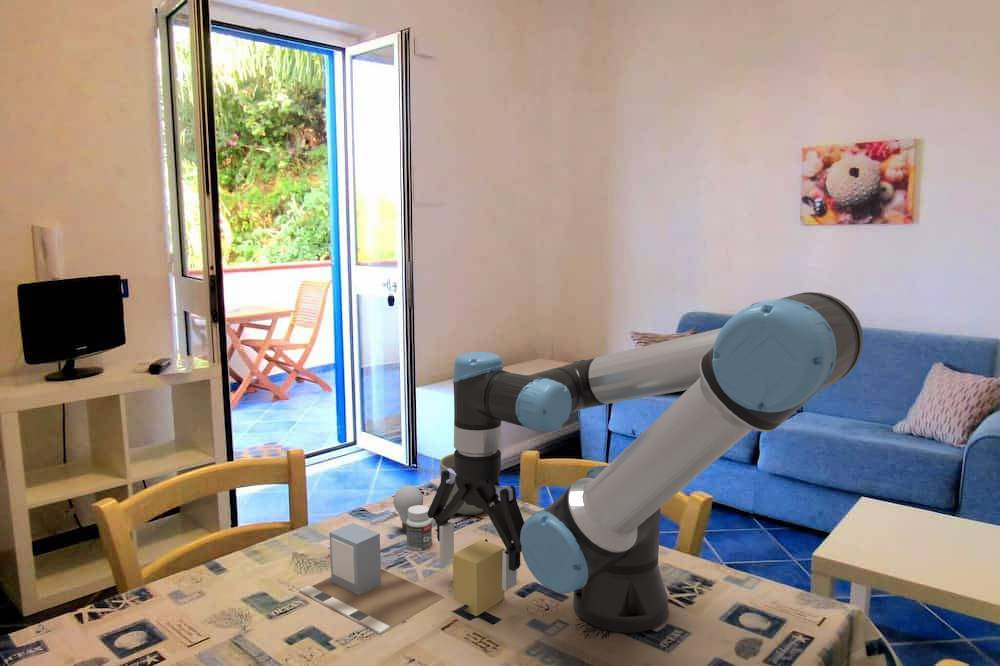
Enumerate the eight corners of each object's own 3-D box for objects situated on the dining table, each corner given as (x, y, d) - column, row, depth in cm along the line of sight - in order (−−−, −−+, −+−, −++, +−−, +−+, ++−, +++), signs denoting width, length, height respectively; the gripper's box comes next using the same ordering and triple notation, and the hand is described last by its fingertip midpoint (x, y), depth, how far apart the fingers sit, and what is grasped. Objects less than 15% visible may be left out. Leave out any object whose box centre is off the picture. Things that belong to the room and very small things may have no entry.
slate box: (354, 571, 130) (352, 522, 128) (381, 583, 125) (379, 533, 124) (330, 582, 126) (328, 532, 124) (357, 595, 121) (355, 544, 120)
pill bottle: (427, 557, 137) (427, 515, 136) (403, 555, 138) (402, 513, 137) (435, 546, 142) (434, 505, 140) (411, 544, 143) (410, 503, 141)
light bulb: (392, 529, 149) (390, 482, 148) (420, 526, 151) (419, 479, 149) (397, 542, 144) (395, 493, 142) (426, 538, 146) (425, 489, 144)
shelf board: (444, 603, 121) (444, 594, 121) (380, 642, 110) (380, 631, 110) (364, 567, 133) (364, 558, 133) (299, 598, 123) (299, 589, 123)
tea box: (504, 598, 123) (504, 547, 121) (476, 616, 117) (476, 563, 116) (480, 588, 126) (480, 539, 124) (452, 605, 121) (452, 554, 119)
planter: (474, 493, 168) (473, 447, 167) (509, 510, 159) (509, 461, 157) (429, 507, 161) (428, 459, 159) (464, 525, 151) (463, 475, 149)
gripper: (555, 460, 112) (552, 589, 116) (437, 428, 128) (438, 542, 132) (525, 474, 107) (523, 609, 110) (405, 438, 122) (407, 558, 126)
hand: (476, 573), depth 121 cm, fingers open, 13 cm apart
